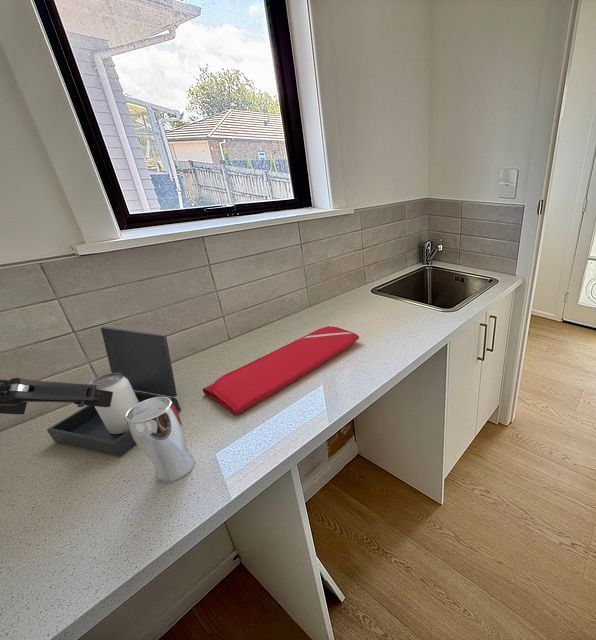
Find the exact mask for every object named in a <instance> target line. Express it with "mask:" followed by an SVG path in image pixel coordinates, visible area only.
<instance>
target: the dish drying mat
mask: <svg viewBox="0 0 596 640" xmlns="http://www.w3.org/2000/svg"><path fill="white" fill-rule="evenodd" d="M359 339H360V335H359V334H357V333H355V332H352V331H350V330H346V329H344V328H342V327H338V326H330V325H328V326H323V327H321V328H318V329H316V330H314V331H311V332H310V333H308V334H306V335H304V336H301V337H300V338H298V339H296V340H293V341H292V342H290V343H288V344H286V345H284V346H282V347H279V348H278V349H275V350H274V351H271V352H270V353H267V354H265V355H263V356H261V357H259V358H257V359H255V360H253V361H251V362H249V363H246V364H244V365H243V366H241V367H238V368H236V369H234V370H231V371H229V372H227V373H225V374H223V375H221V376H220V377H219V378H217V379H216V380H215V381H214V382H213V383H211V384H209V385H208V386H206V387H203V388H202V392H203V394H204V395H205V396H207V397H208V398H210V399H211V400H213V401H215V403H218V404H219V405H220V406H221V407H223V408H224V409H226V410H227V411H228V412H230V413H231V414H232V415H234V416H237V415H238V414H240V413H242V412H244V411H245V410H247V409H250V407H253V406H254V405H256V404H258V403H259V402H261V401H262V400H265V399H266V398H268V397H269V396H271V395H273V394H274V393H277V392H278V391H279V390H281V389H283V388H284V387H286V386H288V385H290V384H291V383H293V382H295V381H296V380H298V379H300V378H301V377H303V376H305V375H306V374H308V373H309V372H310V371H313V369H315V368H317V367H319V366H320V365H322V364H324V363H325V362H327V361H329V360H330V359H332V358H333V357H336V355H338V354H339V353H341V352H343V351H344V350H346V349H348V347H351V345H353V344H354V343H356V342H357V341H358V340H359Z"/></svg>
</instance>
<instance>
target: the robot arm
mask: <svg viewBox="0 0 596 640" xmlns="http://www.w3.org/2000/svg"><path fill="white" fill-rule="evenodd" d="M88 384H89V383H87V384H85V383H73V382H58V381H45V380H33V379H25V378H21V377H14V378H13V377H12V378H10V379H0V414H3V415H18V416H19V415H25V412H26V408H27V405H28V403H73V404H74V405H77V408H84V407H85V406H98V407H110V405H111V400H112V395H113V392H111V391H104V390H98V389H96V388H97V385H94V384H90V385H88Z"/></svg>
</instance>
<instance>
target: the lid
mask: <svg viewBox="0 0 596 640" xmlns="http://www.w3.org/2000/svg"><path fill="white" fill-rule="evenodd" d="M100 330H101V335H102V339H103V343H104V347H105V351H106V355H107V360H108V364H109V369H110V373H121V374H123V377H125V378H127V379H128V381H129V383H130V385H131V387H132V389H133V391H138V392H144V393H150V394H155V395H161V396H167V397H173V398H176V397H177V396H178V392H177V389H176V388H177V387H176V382H175V375H174V372H173V366H172V360H171V354H170V348H169V345H168V338H167V335H166V334H161V333H160V334H159V333H153V332H145V331H138V330H132V329H131V330H130V329H123V328H115V327H107V326H103V327H100Z"/></svg>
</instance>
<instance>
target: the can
mask: <svg viewBox="0 0 596 640" xmlns="http://www.w3.org/2000/svg"><path fill="white" fill-rule="evenodd" d="M87 384H88V385H90V384H94V385H97V388H96V389H98V390H104V391H111V392H113V395H112V400H111V405H110V407H98V406H95V408H96V410H97V412H98V414H99V415H100V417H101V419H102V421H103V423H104V424H105V426H106V428H107V430H108V431H109V432H110V433H112V434H124V433H126V432H128V431H129V428H128V425H127V422H126V420H125V414H126V412H127V411H128V410H129V409H130V408H131V407H133V406H134V405H136V404H138V403H139V401H138V399H137V397H136V395H135V393H134V391H135V390H133V389H132V387H131V385H130V383H129V381H128V379H127V378H125V377H123V374H121V373H111V372H110V373H106V374H103V375H100V376H97V377H96V378H94V379H92V380H91V381H89V382H88V383H87Z"/></svg>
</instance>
